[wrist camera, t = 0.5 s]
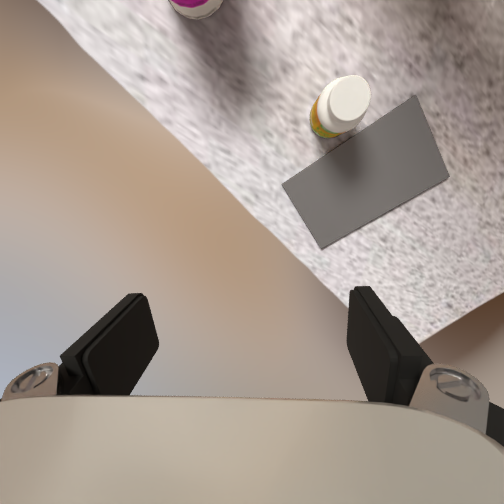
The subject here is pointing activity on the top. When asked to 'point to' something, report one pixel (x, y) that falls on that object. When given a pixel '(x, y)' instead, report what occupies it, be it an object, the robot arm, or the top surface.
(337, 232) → the mat
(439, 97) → the top surface
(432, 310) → the top surface
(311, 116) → the supplement bottle
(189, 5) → the supplement can
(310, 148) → the top surface
